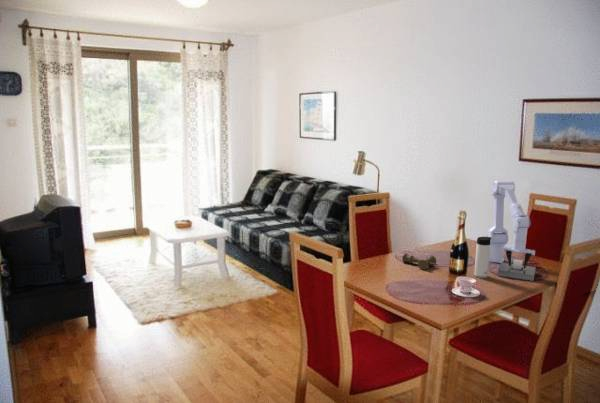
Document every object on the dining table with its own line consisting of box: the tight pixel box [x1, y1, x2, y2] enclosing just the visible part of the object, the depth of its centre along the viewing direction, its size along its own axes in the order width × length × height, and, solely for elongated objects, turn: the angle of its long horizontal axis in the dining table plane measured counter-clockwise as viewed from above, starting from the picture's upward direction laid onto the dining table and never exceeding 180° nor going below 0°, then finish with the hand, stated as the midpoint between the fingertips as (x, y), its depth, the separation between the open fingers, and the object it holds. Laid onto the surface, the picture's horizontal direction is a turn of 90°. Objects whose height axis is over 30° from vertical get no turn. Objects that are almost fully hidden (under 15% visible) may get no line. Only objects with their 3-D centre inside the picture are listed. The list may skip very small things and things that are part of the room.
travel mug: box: [473, 236, 492, 279], centre depth 239 cm, size 6×7×20 cm
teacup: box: [451, 276, 481, 298], centre depth 219 cm, size 12×12×6 cm
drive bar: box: [512, 258, 524, 271], centre depth 244 cm, size 4×4×7 cm
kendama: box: [401, 252, 439, 271], centre depth 255 cm, size 6×10×20 cm
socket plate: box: [497, 262, 536, 282], centre depth 244 cm, size 16×14×3 cm
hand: (517, 266), depth 243 cm, fingers open, 6 cm apart
